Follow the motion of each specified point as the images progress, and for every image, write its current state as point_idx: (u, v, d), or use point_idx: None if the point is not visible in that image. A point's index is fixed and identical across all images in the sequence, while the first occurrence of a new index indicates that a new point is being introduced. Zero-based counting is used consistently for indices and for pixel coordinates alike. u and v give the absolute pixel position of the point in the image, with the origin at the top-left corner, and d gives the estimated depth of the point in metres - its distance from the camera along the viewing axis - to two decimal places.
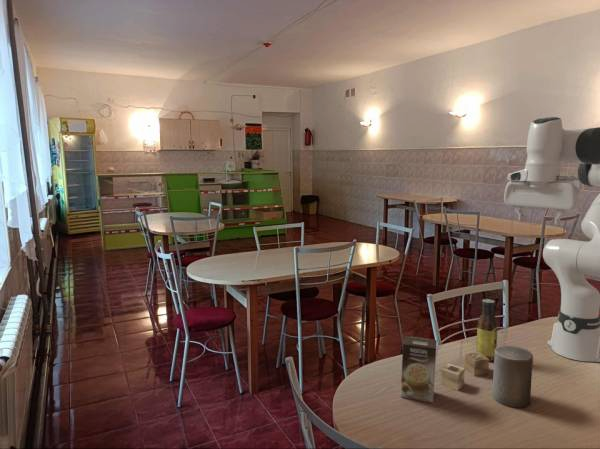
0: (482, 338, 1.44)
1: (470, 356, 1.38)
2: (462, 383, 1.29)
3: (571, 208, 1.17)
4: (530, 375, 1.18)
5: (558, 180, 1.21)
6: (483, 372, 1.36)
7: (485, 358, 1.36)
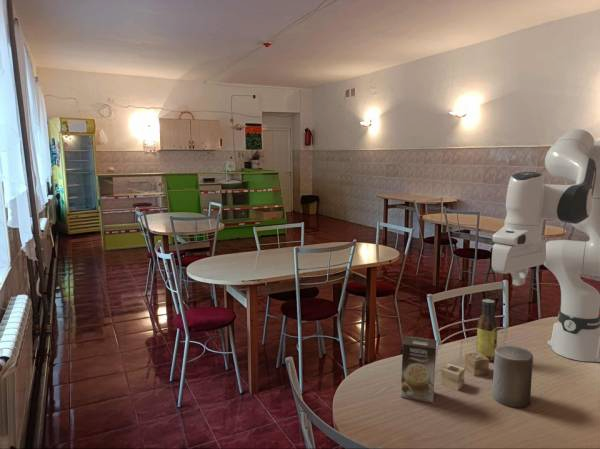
0: (482, 338, 1.44)
1: (470, 356, 1.38)
2: (462, 383, 1.29)
3: (544, 262, 1.20)
4: (530, 375, 1.18)
5: None
6: (483, 372, 1.36)
7: (485, 358, 1.36)
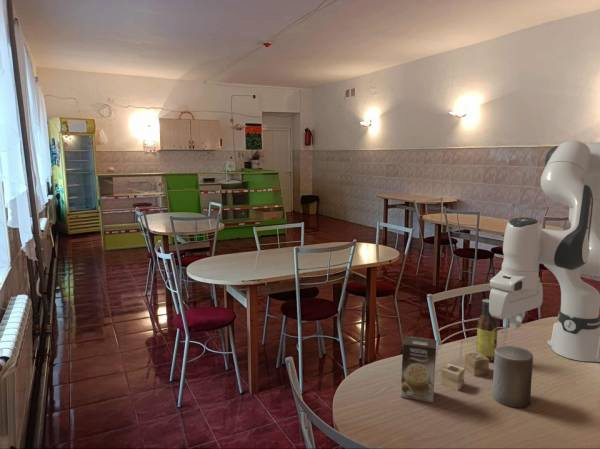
0: (482, 338, 1.44)
1: (470, 356, 1.38)
2: (462, 383, 1.29)
3: None
4: (530, 375, 1.18)
5: None
6: (483, 372, 1.36)
7: (485, 358, 1.36)
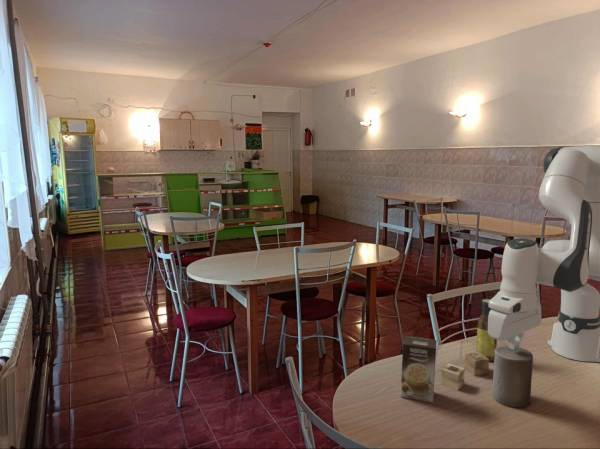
0: (482, 338, 1.44)
1: (470, 356, 1.38)
2: (462, 383, 1.29)
3: (539, 323, 1.23)
4: (530, 375, 1.18)
5: None
6: (483, 372, 1.36)
7: (485, 358, 1.36)
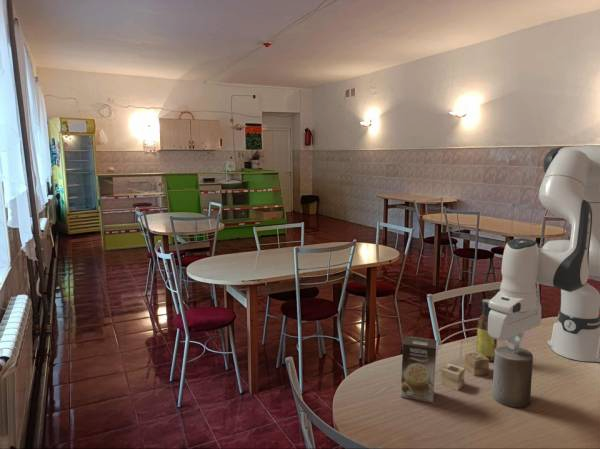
0: (482, 338, 1.44)
1: (470, 356, 1.38)
2: (462, 383, 1.29)
3: (539, 323, 1.23)
4: (530, 375, 1.18)
5: None
6: (483, 372, 1.36)
7: (485, 358, 1.36)
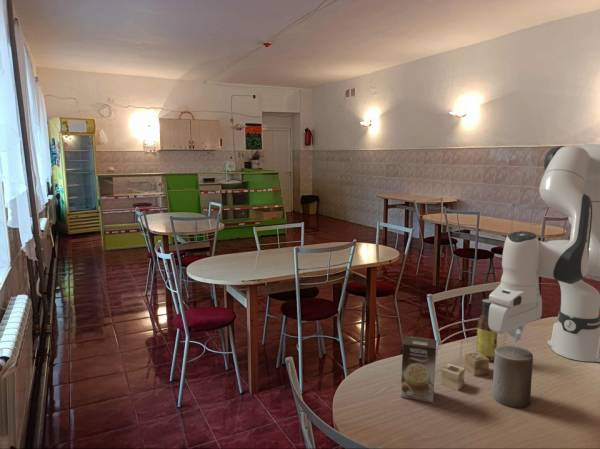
0: (482, 338, 1.44)
1: (470, 356, 1.38)
2: (462, 383, 1.29)
3: (540, 316, 1.23)
4: (530, 375, 1.18)
5: None
6: (483, 372, 1.36)
7: (485, 358, 1.36)
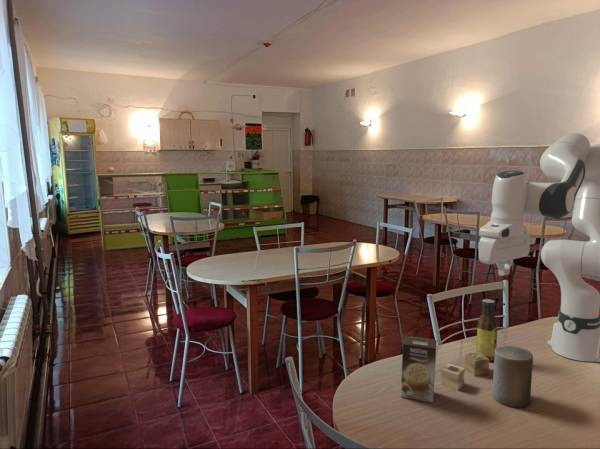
0: (482, 338, 1.44)
1: (470, 356, 1.38)
2: (462, 383, 1.29)
3: None
4: (530, 375, 1.18)
5: None
6: (483, 372, 1.36)
7: (485, 358, 1.36)
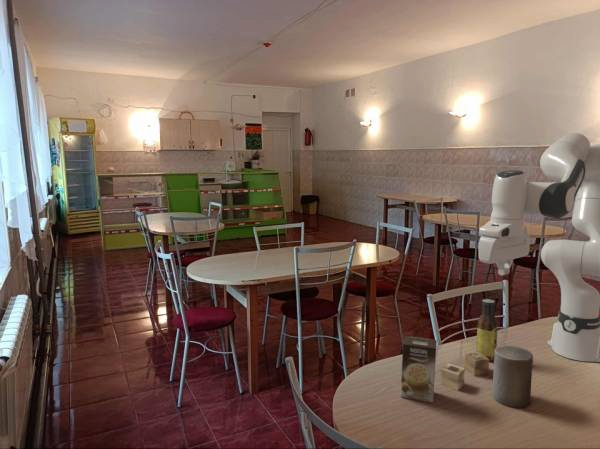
0: (482, 338, 1.44)
1: (470, 356, 1.38)
2: (462, 383, 1.29)
3: (528, 253, 1.30)
4: (530, 375, 1.18)
5: None
6: (483, 372, 1.36)
7: (485, 358, 1.36)
